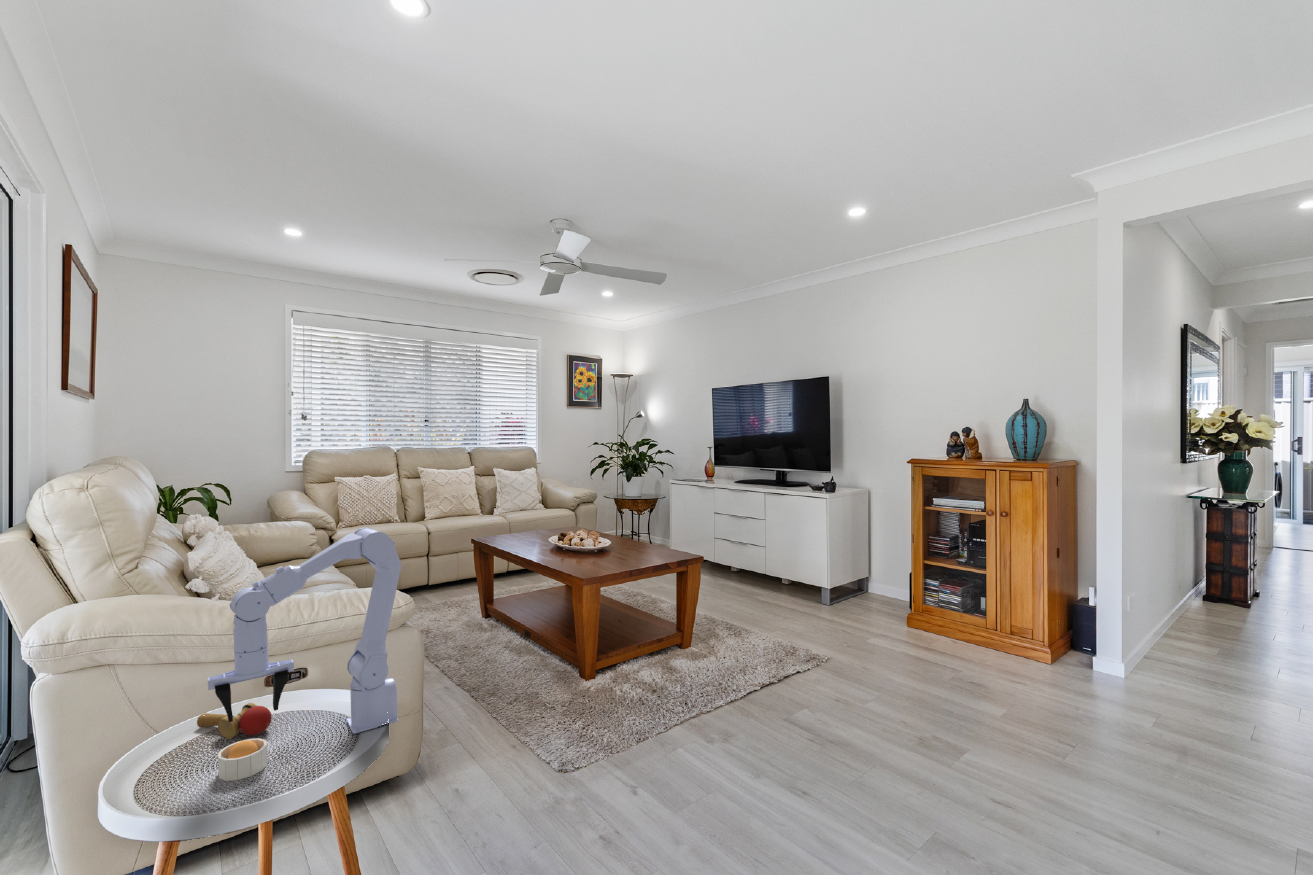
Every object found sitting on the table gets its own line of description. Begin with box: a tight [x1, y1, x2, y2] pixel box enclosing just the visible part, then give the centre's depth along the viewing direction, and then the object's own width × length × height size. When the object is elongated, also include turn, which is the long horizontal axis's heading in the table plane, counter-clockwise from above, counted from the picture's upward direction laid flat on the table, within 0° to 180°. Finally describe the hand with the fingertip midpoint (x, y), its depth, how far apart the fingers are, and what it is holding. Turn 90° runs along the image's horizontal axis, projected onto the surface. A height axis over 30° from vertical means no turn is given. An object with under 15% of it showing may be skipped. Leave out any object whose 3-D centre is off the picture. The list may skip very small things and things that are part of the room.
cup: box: [217, 738, 269, 782], centre depth 121 cm, size 8×8×4 cm
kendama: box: [196, 702, 273, 739], centre depth 137 cm, size 8×6×18 cm
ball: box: [228, 739, 258, 759], centre depth 121 cm, size 5×5×5 cm
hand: (253, 714), depth 124 cm, fingers open, 7 cm apart
